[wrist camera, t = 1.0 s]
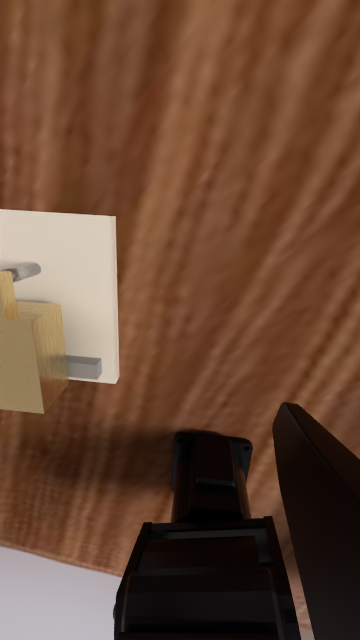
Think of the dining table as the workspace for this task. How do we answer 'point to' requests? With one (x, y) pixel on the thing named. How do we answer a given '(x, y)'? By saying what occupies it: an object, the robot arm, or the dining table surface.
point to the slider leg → (29, 347)
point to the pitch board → (70, 281)
